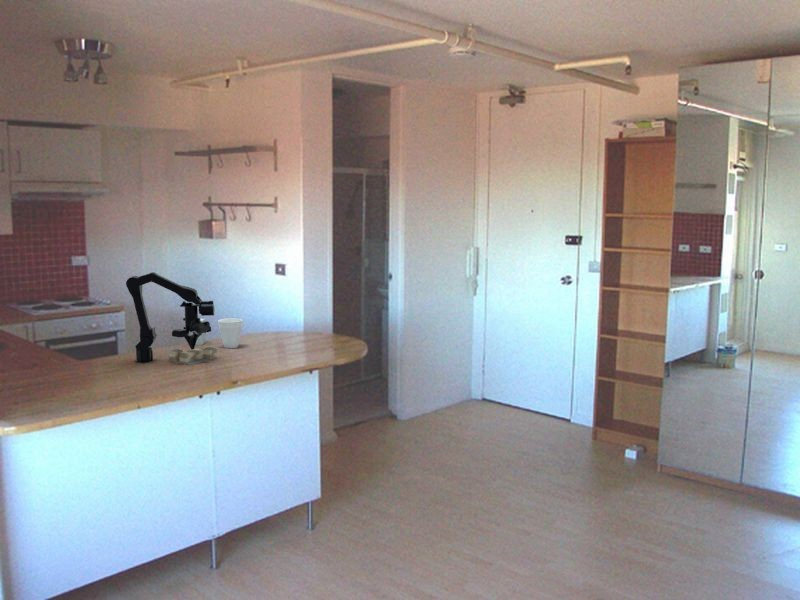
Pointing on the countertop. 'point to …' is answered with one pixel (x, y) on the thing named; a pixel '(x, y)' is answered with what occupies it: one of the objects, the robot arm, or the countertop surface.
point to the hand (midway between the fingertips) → (192, 349)
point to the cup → (230, 331)
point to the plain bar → (191, 355)
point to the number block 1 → (174, 355)
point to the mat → (194, 361)
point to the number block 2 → (210, 353)
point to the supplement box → (201, 336)
